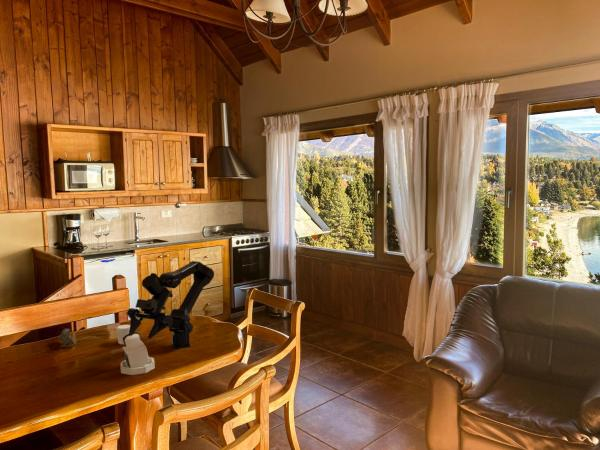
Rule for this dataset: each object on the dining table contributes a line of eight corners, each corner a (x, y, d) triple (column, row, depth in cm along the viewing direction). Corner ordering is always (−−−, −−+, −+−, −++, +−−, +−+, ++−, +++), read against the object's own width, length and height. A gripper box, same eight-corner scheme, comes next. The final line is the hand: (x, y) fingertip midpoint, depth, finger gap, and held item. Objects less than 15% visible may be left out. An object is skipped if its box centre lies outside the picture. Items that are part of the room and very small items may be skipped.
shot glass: (127, 345, 197) (127, 329, 196) (113, 344, 198) (112, 328, 197) (136, 340, 203) (136, 324, 203) (122, 338, 205) (122, 323, 204)
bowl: (152, 359, 181) (152, 354, 180) (156, 371, 170) (155, 365, 169) (120, 364, 176) (119, 359, 176) (121, 376, 165) (121, 371, 165)
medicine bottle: (126, 364, 174) (118, 335, 172) (145, 356, 178) (137, 328, 175) (131, 370, 168) (122, 341, 166) (150, 363, 172) (142, 333, 169)
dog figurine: (77, 347, 195) (76, 330, 194) (62, 350, 192) (61, 332, 191) (71, 339, 204) (70, 323, 204) (56, 342, 201) (55, 325, 200)
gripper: (128, 288, 180) (108, 323, 171) (167, 292, 172) (147, 329, 163) (143, 302, 188) (124, 337, 179) (180, 307, 180) (162, 344, 171)
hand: (139, 336), depth 173 cm, fingers open, 9 cm apart
